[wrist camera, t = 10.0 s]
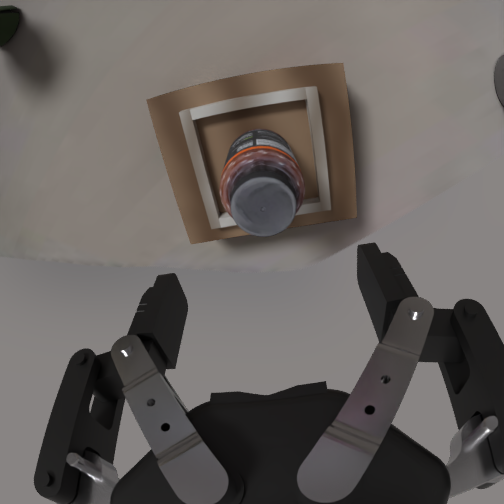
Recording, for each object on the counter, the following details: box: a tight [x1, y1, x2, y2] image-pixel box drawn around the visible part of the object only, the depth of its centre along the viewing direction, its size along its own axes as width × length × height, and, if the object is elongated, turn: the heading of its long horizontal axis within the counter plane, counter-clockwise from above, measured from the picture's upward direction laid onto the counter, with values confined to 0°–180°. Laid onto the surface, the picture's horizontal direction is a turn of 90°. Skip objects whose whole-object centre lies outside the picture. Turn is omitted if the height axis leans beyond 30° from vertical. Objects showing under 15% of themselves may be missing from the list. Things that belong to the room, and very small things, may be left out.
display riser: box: [147, 63, 357, 244], centre depth 29 cm, size 18×16×7 cm
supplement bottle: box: [219, 129, 305, 237], centre depth 23 cm, size 6×6×11 cm
